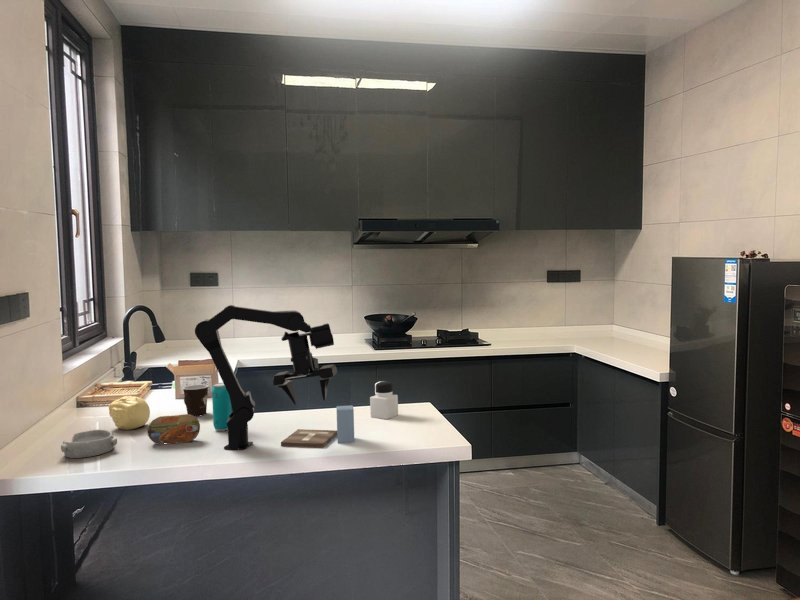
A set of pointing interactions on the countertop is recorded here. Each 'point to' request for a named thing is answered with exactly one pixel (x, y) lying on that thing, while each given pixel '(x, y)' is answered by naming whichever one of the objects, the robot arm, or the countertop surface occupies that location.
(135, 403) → the sculpture
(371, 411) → the medicine bottle
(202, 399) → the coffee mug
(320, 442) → the board
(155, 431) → the tin
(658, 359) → the countertop surface
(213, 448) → the countertop surface
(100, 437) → the dish
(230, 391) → the robot arm
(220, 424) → the beverage can
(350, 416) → the slate-blue block
